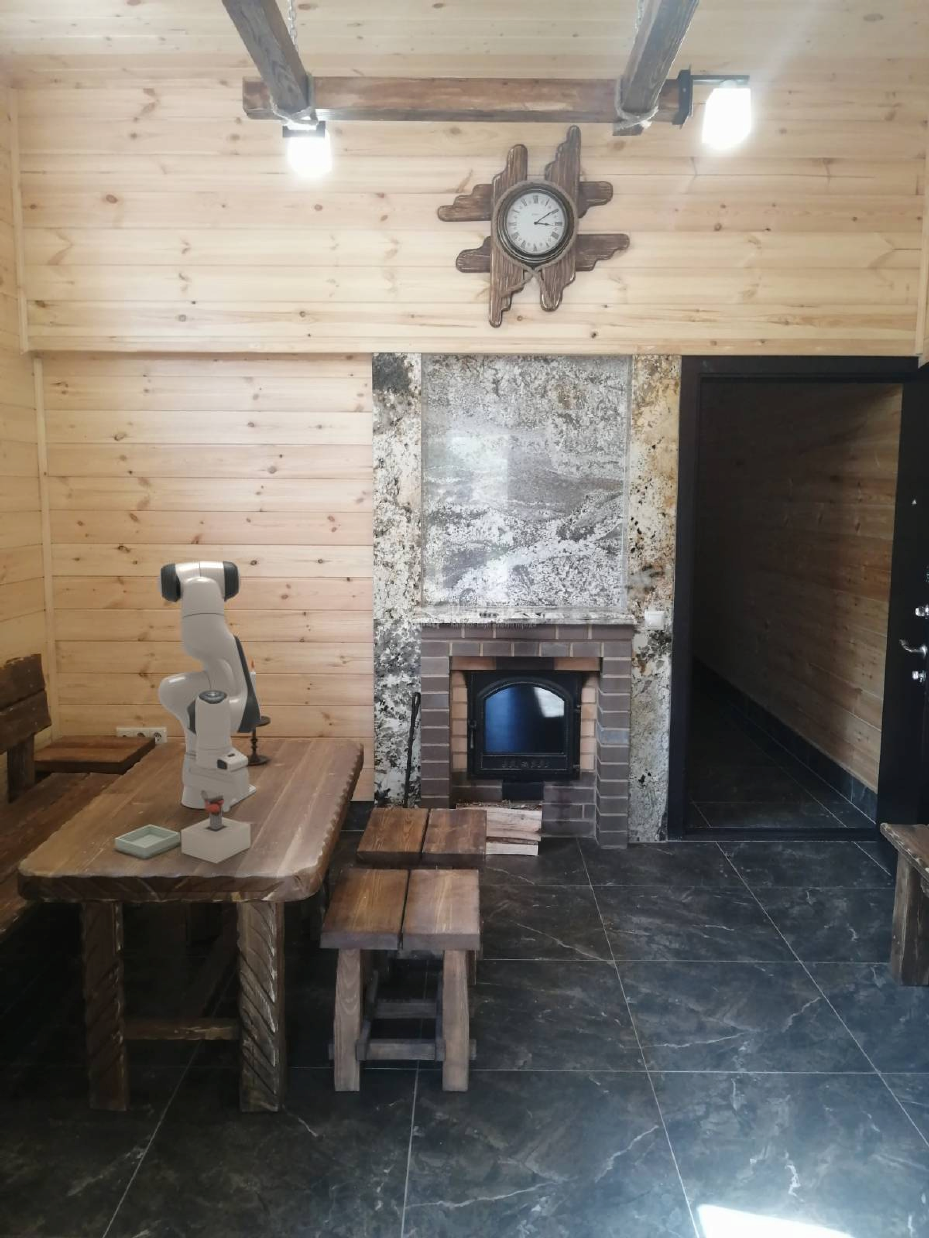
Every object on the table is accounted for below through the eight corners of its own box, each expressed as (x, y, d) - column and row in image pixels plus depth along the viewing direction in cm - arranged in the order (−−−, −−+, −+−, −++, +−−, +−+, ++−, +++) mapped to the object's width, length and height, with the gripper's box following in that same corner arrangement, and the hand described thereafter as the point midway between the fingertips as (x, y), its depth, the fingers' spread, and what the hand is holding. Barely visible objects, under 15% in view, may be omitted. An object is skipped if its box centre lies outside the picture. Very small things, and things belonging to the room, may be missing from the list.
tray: (150, 834, 236) (150, 824, 235) (180, 844, 230) (180, 833, 230) (115, 849, 226) (114, 838, 226) (145, 859, 221) (145, 847, 220)
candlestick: (260, 768, 292) (259, 663, 286) (231, 764, 295) (229, 661, 289) (276, 758, 302) (275, 657, 297) (248, 755, 305) (246, 655, 300)
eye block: (216, 836, 235) (216, 815, 234) (250, 846, 229) (250, 824, 228) (181, 852, 225) (181, 830, 224) (216, 863, 219) (215, 840, 218)
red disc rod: (216, 844, 231) (215, 793, 229) (231, 848, 228) (230, 797, 226) (201, 851, 226) (200, 799, 224) (216, 855, 224) (215, 803, 222)
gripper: (175, 751, 226) (176, 803, 228) (234, 766, 216) (236, 820, 218) (194, 745, 231) (195, 796, 233) (253, 759, 221) (254, 812, 223)
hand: (215, 808), depth 225 cm, fingers closed on red disc rod, 5 cm apart
